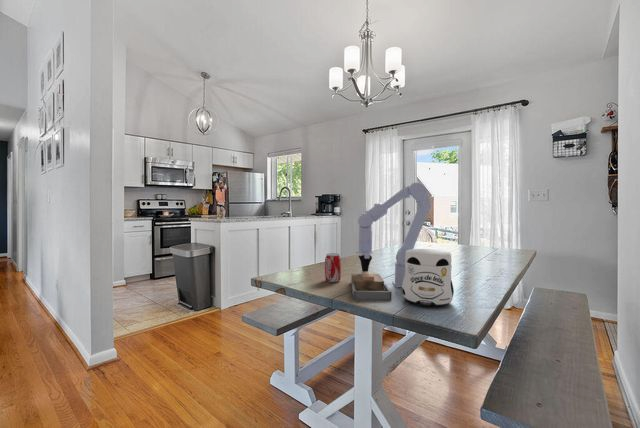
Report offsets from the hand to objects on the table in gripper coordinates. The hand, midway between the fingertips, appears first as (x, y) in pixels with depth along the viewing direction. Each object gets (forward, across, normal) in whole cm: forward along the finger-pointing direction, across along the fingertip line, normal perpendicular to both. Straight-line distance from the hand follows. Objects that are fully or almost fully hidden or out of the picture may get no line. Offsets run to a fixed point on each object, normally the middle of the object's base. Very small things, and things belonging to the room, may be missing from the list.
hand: (364, 272), depth 142 cm
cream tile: (+1, +5, 0) cm, 5 cm away
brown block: (+5, +8, 0) cm, 9 cm away
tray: (+5, +20, 0) cm, 20 cm away
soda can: (+5, -2, -14) cm, 15 cm away
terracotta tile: (+1, +10, 0) cm, 10 cm away
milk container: (+5, +27, +19) cm, 33 cm away
